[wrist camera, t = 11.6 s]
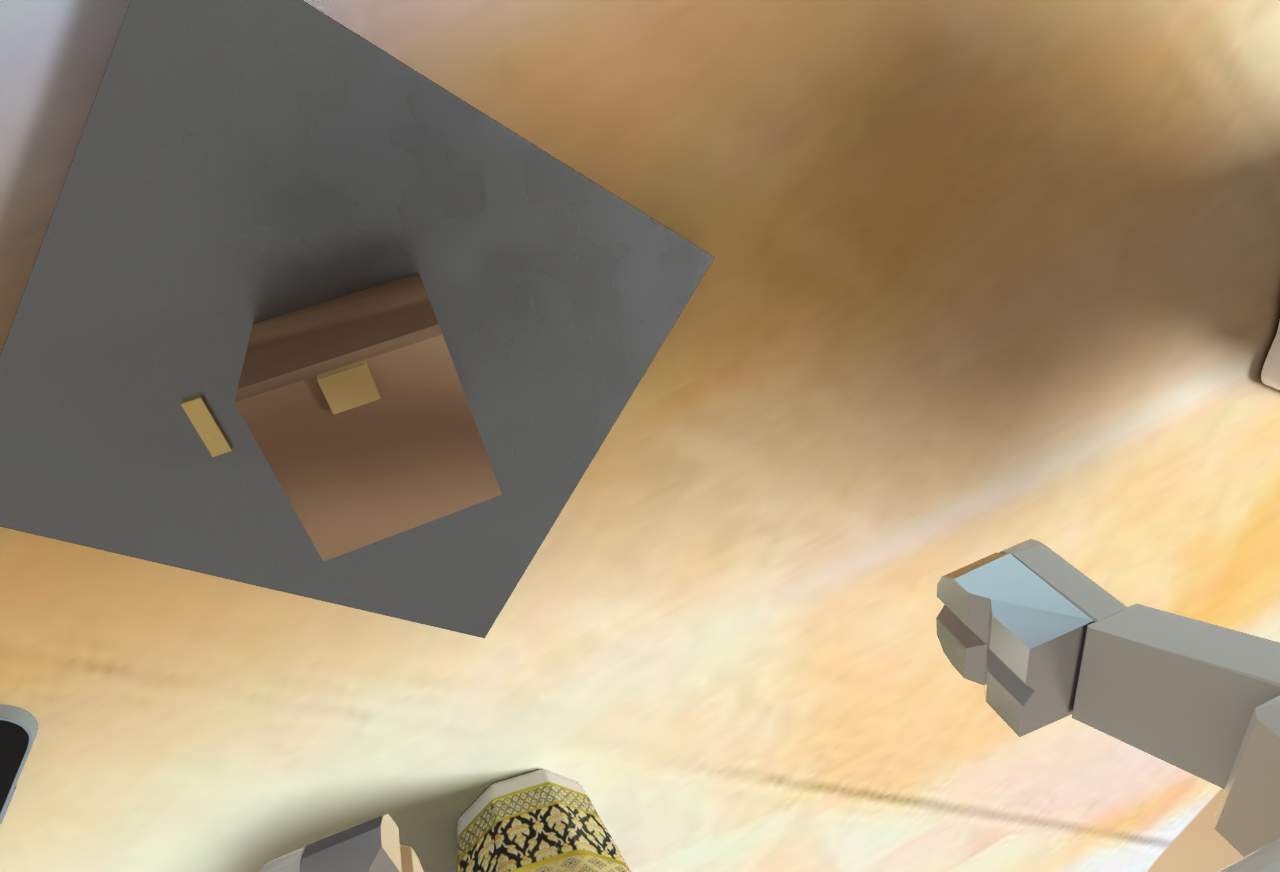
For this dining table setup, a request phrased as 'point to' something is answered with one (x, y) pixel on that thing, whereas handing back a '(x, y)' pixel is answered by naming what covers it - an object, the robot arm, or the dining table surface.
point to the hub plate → (312, 304)
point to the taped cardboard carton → (363, 416)
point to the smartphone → (13, 749)
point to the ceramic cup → (535, 829)
